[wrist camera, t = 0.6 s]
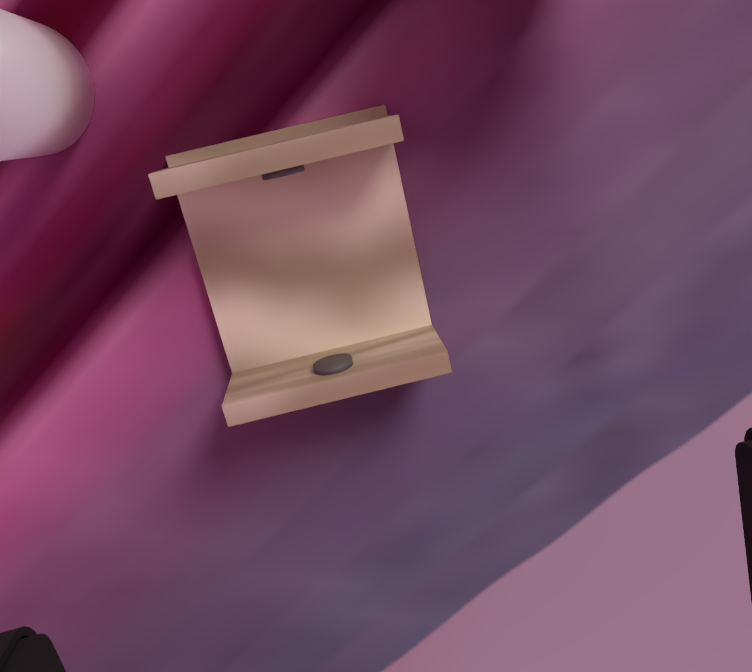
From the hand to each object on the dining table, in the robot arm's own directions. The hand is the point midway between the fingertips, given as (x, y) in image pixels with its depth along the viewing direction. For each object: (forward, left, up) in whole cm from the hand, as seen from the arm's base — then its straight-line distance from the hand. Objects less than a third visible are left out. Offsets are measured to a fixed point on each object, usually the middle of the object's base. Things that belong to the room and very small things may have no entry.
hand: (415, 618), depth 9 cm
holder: (0, -1, -26) cm, 26 cm away
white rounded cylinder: (-10, -11, -26) cm, 30 cm away
